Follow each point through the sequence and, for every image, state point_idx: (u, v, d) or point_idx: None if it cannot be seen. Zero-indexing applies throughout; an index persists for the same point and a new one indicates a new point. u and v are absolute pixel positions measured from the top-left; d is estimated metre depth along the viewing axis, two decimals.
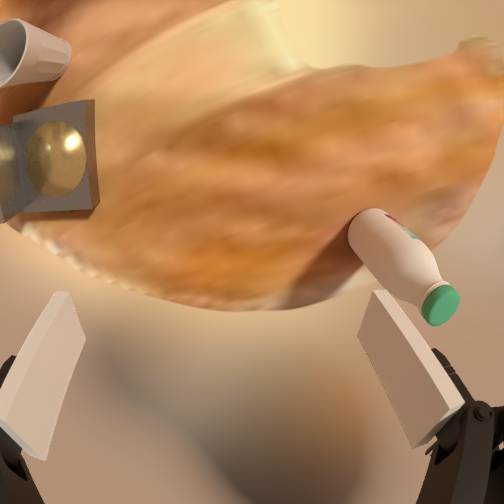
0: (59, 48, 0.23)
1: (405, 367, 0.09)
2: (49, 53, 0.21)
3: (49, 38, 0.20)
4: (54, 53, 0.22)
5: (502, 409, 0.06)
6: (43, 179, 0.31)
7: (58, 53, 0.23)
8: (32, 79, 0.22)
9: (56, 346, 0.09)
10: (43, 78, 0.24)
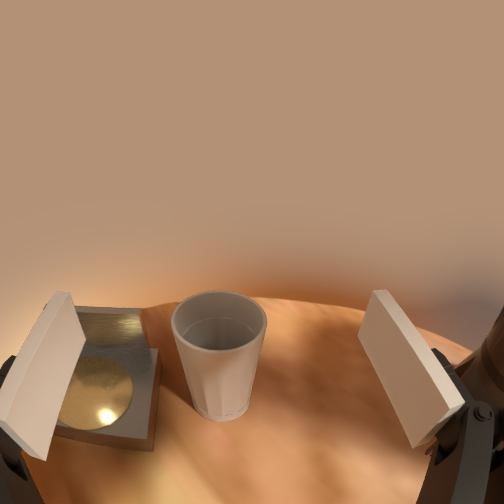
0: (226, 404, 0.25)
1: (405, 367, 0.09)
2: (214, 391, 0.24)
3: (237, 387, 0.24)
4: (216, 397, 0.24)
5: (501, 409, 0.06)
6: (73, 372, 0.26)
7: (218, 403, 0.25)
8: (184, 370, 0.25)
9: (56, 346, 0.09)
10: (189, 386, 0.27)
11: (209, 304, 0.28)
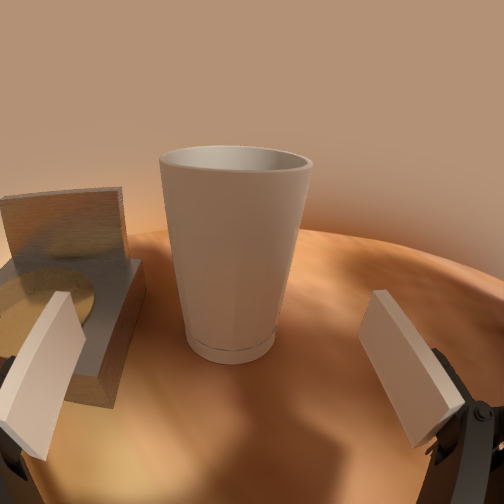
0: (242, 321, 0.16)
1: (405, 367, 0.09)
2: (223, 285, 0.15)
3: (263, 279, 0.15)
4: (226, 303, 0.15)
5: (501, 409, 0.06)
6: (19, 286, 0.17)
7: (228, 319, 0.16)
8: (174, 258, 0.16)
9: (56, 346, 0.09)
10: (180, 297, 0.18)
11: (220, 165, 0.19)
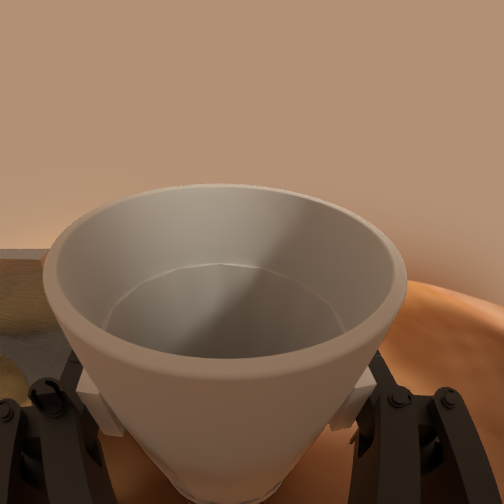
0: (243, 493, 0.08)
1: None
2: (210, 479, 0.06)
3: (281, 467, 0.07)
4: (216, 488, 0.07)
5: (430, 403, 0.07)
6: None
7: (221, 494, 0.07)
8: None
9: None
10: None
11: (197, 222, 0.10)
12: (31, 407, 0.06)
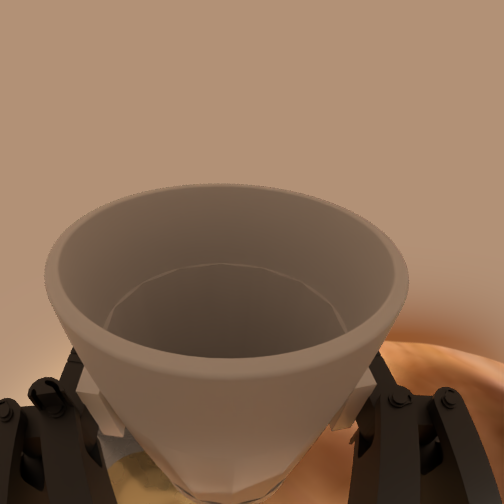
0: (244, 493, 0.08)
1: None
2: (211, 479, 0.06)
3: (283, 467, 0.07)
4: (218, 488, 0.07)
5: (430, 403, 0.07)
6: (128, 477, 0.17)
7: (222, 494, 0.07)
8: None
9: None
10: None
11: (198, 222, 0.10)
12: (31, 407, 0.06)
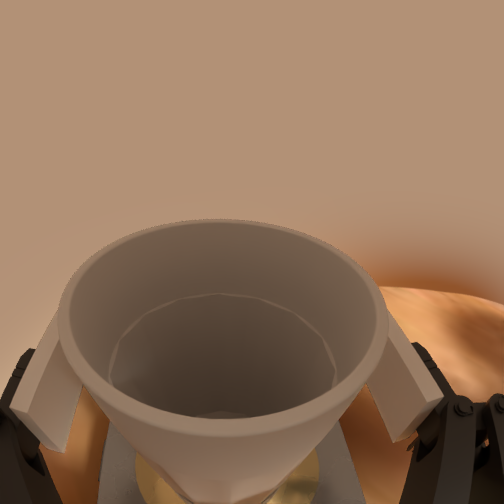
0: (241, 502, 0.08)
1: (385, 360, 0.10)
2: (211, 492, 0.07)
3: (275, 482, 0.07)
4: (217, 499, 0.07)
5: (485, 406, 0.07)
6: None
7: (221, 503, 0.08)
8: None
9: None
10: None
11: (196, 257, 0.11)
12: None
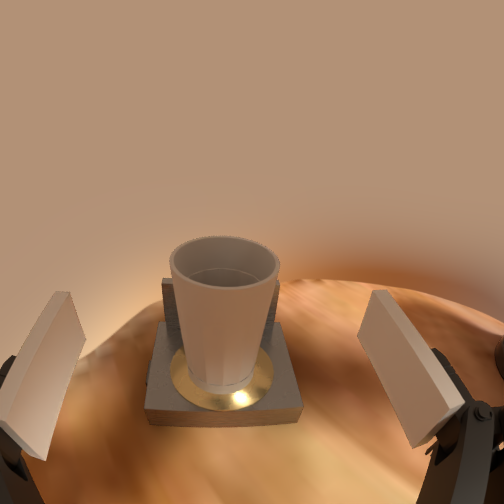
0: (229, 368, 0.22)
1: (405, 367, 0.09)
2: (216, 348, 0.21)
3: (243, 344, 0.21)
4: (218, 358, 0.22)
5: (501, 409, 0.06)
6: None
7: (219, 367, 0.22)
8: (181, 325, 0.23)
9: (56, 346, 0.09)
10: (185, 348, 0.24)
11: (212, 251, 0.25)
12: None
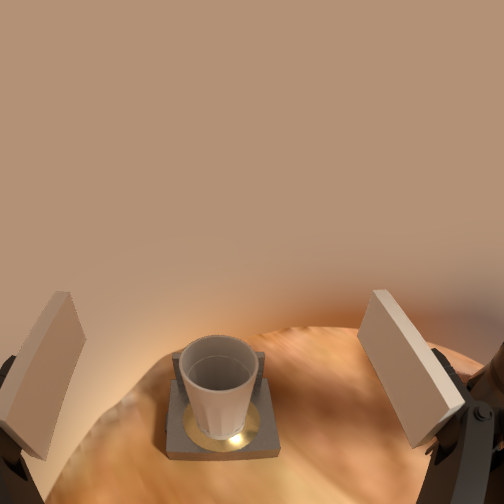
0: (225, 426, 0.29)
1: (405, 367, 0.09)
2: (215, 417, 0.28)
3: (234, 415, 0.28)
4: (217, 422, 0.28)
5: (502, 409, 0.06)
6: None
7: (218, 426, 0.29)
8: (190, 400, 0.29)
9: (56, 346, 0.09)
10: (193, 412, 0.31)
11: (210, 346, 0.32)
12: None
